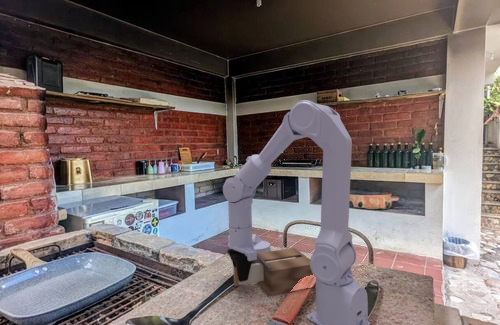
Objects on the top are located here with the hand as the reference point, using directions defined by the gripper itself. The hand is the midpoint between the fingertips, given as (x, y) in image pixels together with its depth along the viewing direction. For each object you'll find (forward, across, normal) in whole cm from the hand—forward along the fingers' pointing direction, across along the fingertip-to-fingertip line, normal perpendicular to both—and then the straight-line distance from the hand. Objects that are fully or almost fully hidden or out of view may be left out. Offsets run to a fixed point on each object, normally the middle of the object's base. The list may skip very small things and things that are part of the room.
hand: (242, 278), depth 71 cm
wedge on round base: (+3, +21, -12) cm, 24 cm away
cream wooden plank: (+1, -1, -7) cm, 7 cm away
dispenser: (+2, -1, -11) cm, 11 cm away
